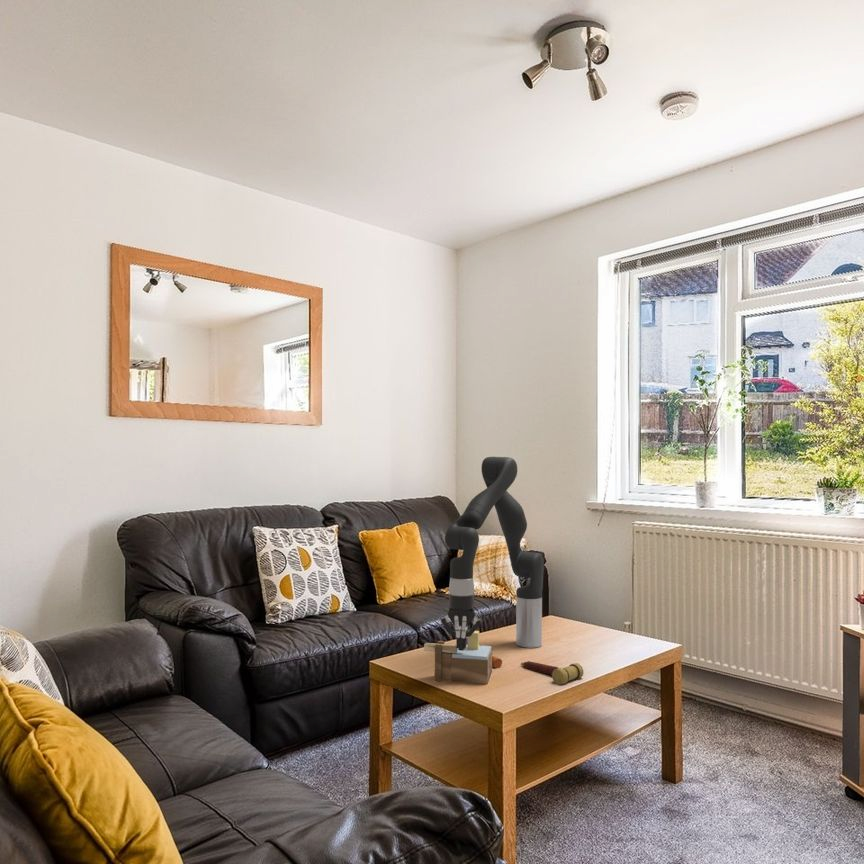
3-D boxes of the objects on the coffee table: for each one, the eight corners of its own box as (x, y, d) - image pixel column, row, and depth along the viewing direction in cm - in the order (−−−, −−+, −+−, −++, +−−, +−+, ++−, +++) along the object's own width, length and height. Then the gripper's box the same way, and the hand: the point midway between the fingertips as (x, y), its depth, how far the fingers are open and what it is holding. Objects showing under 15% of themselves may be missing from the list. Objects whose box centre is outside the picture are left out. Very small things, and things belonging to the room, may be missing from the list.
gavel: (510, 659, 216) (530, 653, 222) (511, 674, 215) (531, 667, 222) (563, 670, 200) (583, 664, 207) (564, 686, 200) (584, 679, 206)
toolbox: (442, 668, 215) (442, 634, 216) (492, 671, 212) (492, 637, 213) (434, 680, 203) (434, 645, 204) (487, 684, 200) (487, 648, 200)
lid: (458, 651, 214) (458, 628, 215) (491, 653, 212) (491, 630, 212) (452, 661, 203) (452, 637, 203) (486, 664, 201) (487, 639, 201)
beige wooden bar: (425, 648, 208) (425, 642, 208) (457, 650, 206) (457, 644, 206) (424, 650, 205) (424, 644, 206) (456, 653, 203) (456, 647, 204)
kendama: (489, 657, 214) (455, 638, 231) (491, 675, 215) (457, 654, 232) (504, 651, 217) (469, 632, 234) (506, 669, 218) (471, 649, 235)
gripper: (484, 591, 207) (484, 647, 207) (442, 589, 210) (442, 645, 209) (481, 595, 200) (481, 654, 199) (438, 593, 203) (437, 651, 202)
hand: (461, 649), depth 204 cm, fingers closed
